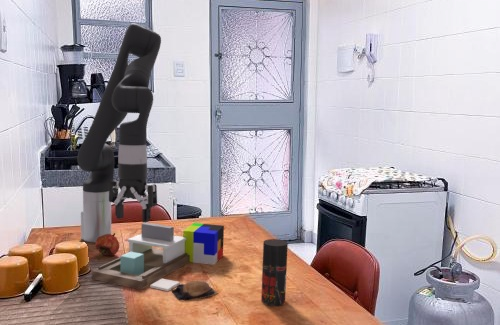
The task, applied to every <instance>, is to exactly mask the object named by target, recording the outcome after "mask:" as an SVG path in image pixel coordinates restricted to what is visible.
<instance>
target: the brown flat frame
mask: <svg viewBox="0 0 500 325" xmlns="http://www.w3.org/2000/svg"><path fill="white" fill-rule="evenodd" d="M141 254H144V273H143V274H141V275H139V276H138V275H133V274H128V273H123V272H120V257H117V258H115V259H113V260H111V261H108V262H107V263H104V264H102V265H99V266H98V268H95V269H94V270H91V280H96V281H99V282H100V281H101V282H104V283H109V284H110V283H111V284H114V285H118V286H119V285H120V286H125V287H126V288H127V287H128V288H133V289H138V290H142V289H144V288H146V287H147V286H149V285H151V284H153V283H155V282H157V281H158V280H160V279H163V278H164V277H165V276H167V275H169V274H171V273H173V272H174V271H176V270H178V269H179V268H181V267H184V266H185V265H186V264H189V263H191V262H190V255H187V253H185V254H183V255H181V256H179V257H177V258H175V259H173V260H171V261H169V262H168V263H163V248H162V249H161V248H157V247H155V248H154V247H152V249H149V250H147V251H145V252H143V253H141Z"/></svg>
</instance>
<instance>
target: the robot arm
mask: <svg viewBox="0 0 500 325" xmlns="http://www.w3.org/2000/svg"><path fill="white" fill-rule="evenodd" d="M161 44H162V38H161V35H160V34H158V32H156V31H154V30H151V29H149V28H146V27H144V26H142V25H140V24H137V23H130V24H129V25H128V27H127V29H126V31H125V34H124V37H123V39H122V42H121V46H120V47H119V48H120V49H119V52H118V55H117V58H116V61H115V64H114V67H113V69H112V72H111V74H110V77H109V80H108V81H107V83H106V84H107V85H106V86H105V90H104V92H103V94H102V96H101V99H100V102H99V106H98V108H97V110H96V113H95V115H94V118H93V119H92V123H91V125H90V128H89V130H88V132H87V134H86V135H85V138H84V140H83V141H82V143H81V146H80V148H79V150H78V153H77V160H76V161H77V165H78V166H79V168H80V169H81V170H82V171H83V172H88V173H89V172H90V173H91V174H90V175H89V176H88V178H87V179H86V180H85V181H84V182H83V183H82V211H81V212H80V238H81V240H83V241H85V242H86V243H87V242H88V243H96V240H97V238H98V237H100V236H102V235H105V234H111V235H112V204H114V206H115V211H114V213H115V217H116V219H118V220H120V219H123V218H124V214H125V212H124V210H125V209H124V202H125V200H127V199H132V200H136V201H137V202H138V203H139V204H140V205H141V207H142V209H141V210H142V211H141V214H142V215H141V216H142V219H141V220H142V223H149V221H150V220H151V212H152V211H151V208H154V207H157V206H158V191H157V190H158V187H157V184H155V183H154V184H148V183H147V177H148V150H147V126H148V120H149V117H150V113H151V110H152V107H153V104H154V94H153V92H152V90H151V89H150V88H149V86H150V79H151V74H152V70H153V68H154V66H155V63H156V61H157V57H158V54H159V51H160V48H161ZM130 55H132V56H134V57H137V58H136V59H134V60H132V61H130V62H129V56H130ZM127 114H138V117H137V118H136V119H134V120H132V121H130V120H129V121H126V122H123V121H124V120H125V118H127V117H126V116H127ZM122 122H123V123H122ZM118 127H119V128H118ZM117 128H118V130H119V131H118V132H119V134H118V137H119V140H118V144H119V146H118V153H117V156H118V160H117V161H118V164H117V166H118V168H117V169H118V172H117V173H118V176H117V177H118V178H119V180H118V179H115V180H114V177H115V153H114V150H113V149H112V147H111V145H109V144H107V142H108V141H107V140H108V139H109V137H110V136H111V134H112V133H113V132H114V131H116V129H117ZM119 189H120V191H119Z"/></svg>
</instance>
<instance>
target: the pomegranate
mask: <svg viewBox="0 0 500 325" xmlns="http://www.w3.org/2000/svg"><path fill="white" fill-rule="evenodd" d="M115 235H116V233H115V232H114V233H113V234H112V233H111V234H105V235H102V236H100V237H98V238H97V240H96V242H95V248H96V250H98V252H99V253H100V255H99V256H98V258H97V260H100V259H101V257H102V256H108V257H109V256H110V257H114V256H115V255H117V253H118V252H119V250H120V242H119V240H118V238H117V237H116V236H115Z"/></svg>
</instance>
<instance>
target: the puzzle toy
mask: <svg viewBox="0 0 500 325" xmlns="http://www.w3.org/2000/svg"><path fill="white" fill-rule="evenodd" d="M224 231H225V225H219V224H213V223H212V224H210V223H201V222H193V223H192V224H191V225H189V226H187V227H186V228H185V229H184V230H183V231H182V234H183V235H182V237H186V241H185V253H187V255H190V262H189V263H196V264H202V265H203V264H205V265H212V266H213V265H215V264H216V263H217V262H218V261H219V260H220V259H221V258H222V257H223V255H224V236H225V235H224V234H225V232H224Z"/></svg>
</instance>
